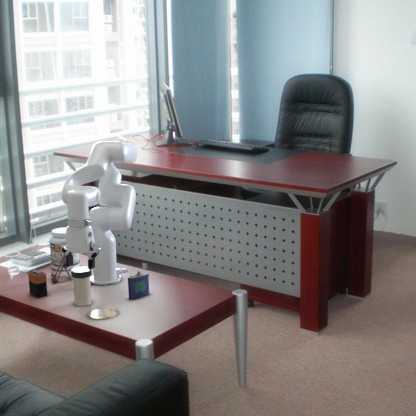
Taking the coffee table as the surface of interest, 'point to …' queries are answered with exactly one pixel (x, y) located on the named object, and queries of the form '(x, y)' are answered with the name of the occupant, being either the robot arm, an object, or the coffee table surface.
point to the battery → (37, 283)
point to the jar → (82, 291)
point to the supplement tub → (56, 250)
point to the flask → (138, 286)
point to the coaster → (102, 313)
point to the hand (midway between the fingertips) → (80, 267)
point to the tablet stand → (60, 270)
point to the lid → (81, 272)
